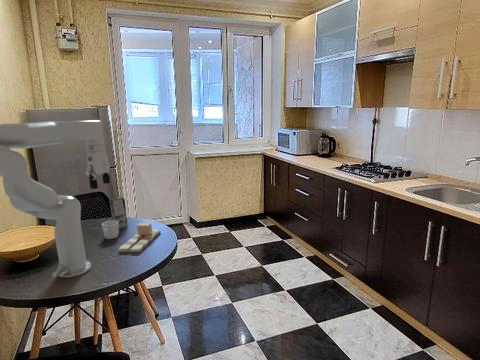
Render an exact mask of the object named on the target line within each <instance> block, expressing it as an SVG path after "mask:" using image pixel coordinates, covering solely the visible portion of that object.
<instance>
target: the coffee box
mask: <svg viewBox="0 0 480 360" xmlns="http://www.w3.org/2000/svg"><path fill="white" fill-rule="evenodd" d="M109 205H110V212H111V219H112V220H116V221H118V222H119V229H121V228H126V227H128V217H127V208H126V199H125V198H124V197H123V196H122V195H117V196H113V197H109Z"/></svg>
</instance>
